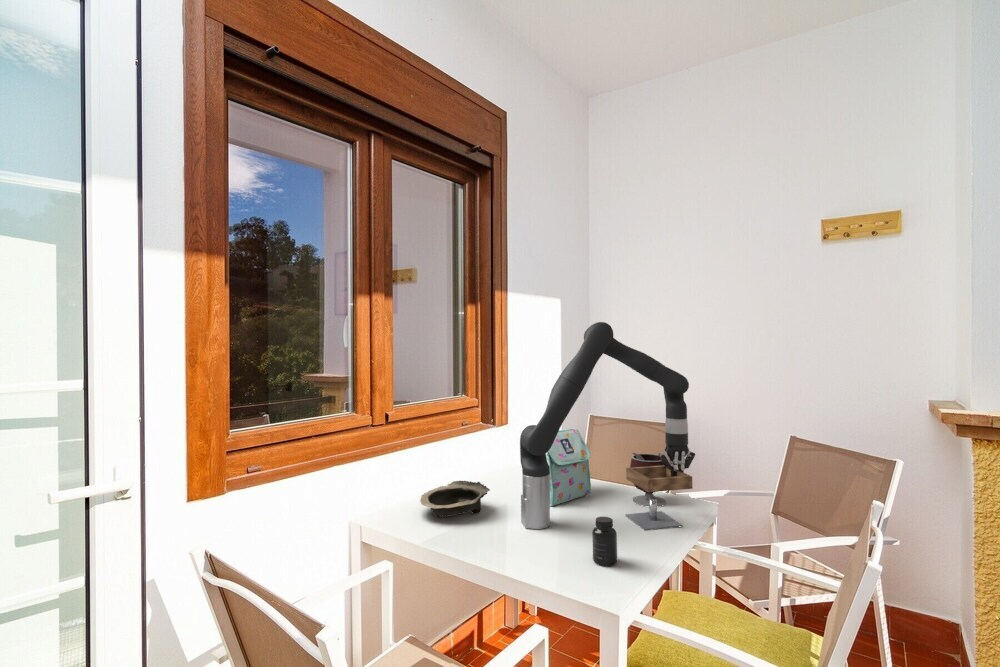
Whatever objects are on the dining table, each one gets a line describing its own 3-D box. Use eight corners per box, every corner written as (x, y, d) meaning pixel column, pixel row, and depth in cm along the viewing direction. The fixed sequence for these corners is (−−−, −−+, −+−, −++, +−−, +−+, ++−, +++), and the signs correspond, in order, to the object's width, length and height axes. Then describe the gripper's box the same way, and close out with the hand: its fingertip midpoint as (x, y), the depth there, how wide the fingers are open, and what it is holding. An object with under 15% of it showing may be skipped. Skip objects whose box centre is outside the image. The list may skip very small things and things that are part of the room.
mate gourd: (647, 494, 206) (647, 444, 206) (676, 503, 194) (675, 450, 194) (619, 501, 198) (619, 449, 198) (647, 511, 186) (647, 456, 186)
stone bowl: (499, 505, 192) (498, 481, 192) (468, 534, 170) (467, 507, 169) (443, 496, 203) (442, 474, 202) (406, 522, 180) (405, 496, 180)
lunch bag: (554, 509, 189) (553, 436, 189) (524, 498, 201) (523, 430, 202) (594, 496, 203) (594, 429, 203) (564, 487, 216) (564, 423, 216)
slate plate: (644, 530, 167) (644, 528, 167) (625, 515, 181) (625, 514, 181) (683, 526, 170) (682, 525, 170) (661, 512, 184) (661, 511, 184)
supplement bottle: (599, 554, 149) (599, 513, 149) (621, 560, 145) (621, 518, 145) (588, 562, 144) (587, 519, 144) (610, 569, 140) (609, 525, 140)
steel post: (651, 520, 174) (651, 500, 174) (648, 518, 177) (647, 498, 177) (658, 520, 175) (658, 499, 175) (654, 517, 177) (654, 497, 177)
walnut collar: (648, 492, 167) (648, 480, 167) (626, 479, 182) (626, 467, 182) (692, 488, 170) (692, 476, 170) (667, 476, 186) (667, 465, 186)
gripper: (664, 434, 173) (664, 485, 173) (700, 432, 176) (701, 482, 175) (653, 430, 180) (653, 479, 180) (688, 428, 183) (688, 476, 183)
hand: (677, 480), depth 178 cm, fingers closed on walnut collar, 1 cm apart
